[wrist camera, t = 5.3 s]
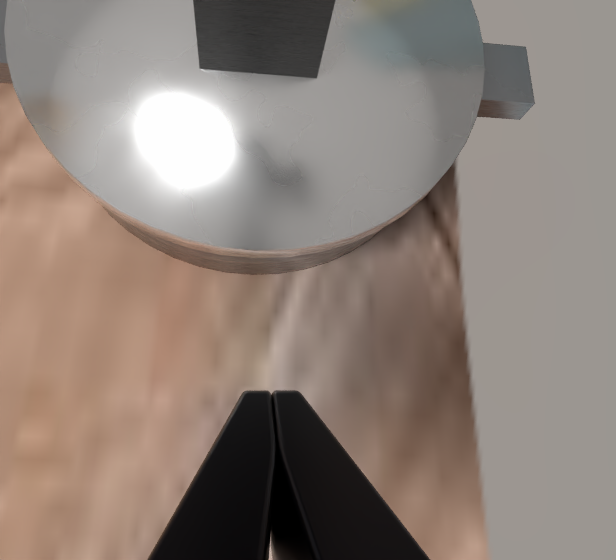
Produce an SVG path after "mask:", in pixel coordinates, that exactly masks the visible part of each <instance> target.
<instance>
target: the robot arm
mask: <svg viewBox="0 0 616 560" xmlns="http://www.w3.org/2000/svg"><path fill="white" fill-rule="evenodd" d="M270 536H271V549H272V558H273V560H430V559H429V558H428V556H427V555H426V554H425V552H424V551H423V550H422V549H421V547H420V546H419V545H418V543H417V542H416V541H415V540H414V538H413V537H412V536H411V534H410V533H409V532H408V531H407V529H406V528H405V527H404V525H403V524H402V523H401V522H400V520H399V519H398V518H397V516H396V515H395V514H394V512H393V511H392V510H391V509H390V507H389V506H388V505H387V503H386V502H385V501H384V500H383V498H382V497H381V496H380V494H379V493H378V492H377V491H376V489H375V488H374V487H373V485H372V484H371V483H370V482H369V480H368V479H367V478H366V476H365V475H364V474H363V473H362V471H361V470H360V469H359V467H358V466H357V465H356V464H355V462H354V461H353V460H352V458H351V457H350V456H349V455H348V453H347V452H346V451H345V449H344V448H343V447H342V446H341V444H340V443H339V442H338V440H337V439H336V438H335V437H334V435H333V434H332V433H331V431H330V430H329V429H328V428H327V426H326V425H325V424H324V422H323V421H322V420H321V419H320V417H319V416H318V415H317V413H316V412H315V411H314V410H313V408H312V407H311V406H310V404H309V403H308V402H307V401H306V399H305V398H304V397H303V395H302V394H301V393H300V392H298V391H274V392H273V393H272V395H271V393H270V392H269V391H245V392H243V393H242V395H241V396H240V398H239V400H238V402H237V403H236V405H235V407H234V409H233V410H232V412H231V414H230V416H229V417H228V419H227V421H226V423H225V424H224V426H223V428H222V430H221V431H220V433H219V435H218V437H217V438H216V440H215V442H214V444H213V445H212V447H211V449H210V451H209V452H208V454H207V456H206V458H205V459H204V461H203V463H202V465H201V467H200V468H199V470H198V472H197V474H196V475H195V477H194V479H193V481H192V482H191V484H190V486H189V488H188V489H187V491H186V493H185V495H184V496H183V498H182V500H181V502H180V503H179V505H178V507H177V509H176V510H175V512H174V514H173V516H172V517H171V519H170V521H169V523H168V524H167V526H166V528H165V530H164V531H163V533H162V535H161V537H160V538H159V540H158V542H157V544H156V545H155V547H154V549H153V551H152V552H151V554H150V556H149V558H148V560H268V559H269V547H270Z"/></svg>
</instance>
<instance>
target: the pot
mask: <svg viewBox="0 0 616 560" xmlns="http://www.w3.org/2000/svg"><path fill="white" fill-rule="evenodd" d="M6 7H7V0H0V83H13V82H12V78H11V74H10V70H9V66H8V62H7V57H6V44H5V31H4V29H5V18H6ZM483 51H484V69H485V71H484V82H483V92H482V98H481V102H480V106H479V110H478V113H477V117H491V118H506V119H521V118H522V117H523V116H524V114H525V113H526V112H527V111H528V110H529V109H530V108H531V106H533V105H534V103H535V102H534V96H533V89H532V83H531V77H530V70H529V64H528V57H527V51H526V47H522V46H511V45H500V44H489V43H483ZM103 208H104V209H105V210H106V211H107V212H108V213H109V215H111V216H112V217H113V218H114V219H115V220H116V221H117V222H118V223H120V224H121V225H122V226H123V227H124V228H125V229H126V230H127V231H129V232H130V233H132V234H133V235H135V236H136V237H138V238H139V239H141V240H142V241H144V242H145V243H147V244H148V245H150V246H151V247H153V248H155V249H157V250H159V251H161V252H163V253H165V254H167V255H169V256H171V257H173V258H176V259H179V260H182V261H185V262H187V263H190V264H193V265H196V266H199V267H203V268H208V269H213V270H217V271H222V272H228V273H239V274H251V275H255V274H279V273H285V272H291V271H297V270H303V269H307V268H310V267H313V266H317V265H320V264H323V263H327V262H329V261H331V260H333V259H336V258H338V257H340V256H342V255H345V254H347V253H349V252H351V251H352V250H354V249H355V248H357V247H359V246H360V245H362V244H363V243H365V242H367V241H368V240H370V239H371V238H372V237H373V236H374V235H376V234H377V233H378V232H379V231H380V230H379V231H377V232H375V233H373V234H370V235H368V236H366V237H364V238H361V239H359V240H357V241H355V242H353V243H350V244H347V245H343V246H340V247H336V248H333V249H330V250H326V251H323V252H318V253H312V254H306V255H300V256H293V257H280V258H247V257H236V256H225V255H219V254H214V253H209V252H205V251H200V250H196V249H191V248H187V247H184V246H181V245H179V244H176V243H173V242H170V241H167V240H164V239H161V238H159V237H156V236H154V235H152V234H150V233H148V232H146V231H144V230H142V229H140V228H138V227H136V226H134V225H132V224H130V223H128V222H126V221H124V220H123V219H121V218H120V217H118V216H117V215H115V214H114V213H112V212H111V211H109V210H108V209H106V208H105V207H103ZM382 229H383V228H382Z"/></svg>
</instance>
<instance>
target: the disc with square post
mask: <svg viewBox="0 0 616 560" xmlns="http://www.w3.org/2000/svg"><path fill="white" fill-rule="evenodd" d="M4 31H5V44H6V57H7V62H8V66H9V70H10V74H11V78H12V82H13V86H14V89H15V91H16V93H17V96H18V98H19V100H20V103H21V105H22V107H23V110H24V112H25V114H26V116H27V118H28V119H29V121H30V123H31V124H32V126H33V127H34V129H35V131H36V132H37V134H38V135H39V137H40V139H41V140H42V142H43V143H44V145H45V146H46V148H47V149H48V151H49V152H50V154H51V155H52V157H53V158H54V159H55V160H56V162H57V163H58V164H59V165H60V166H61V167H62V169H63V170H64V171H65V172H66V173H67V174H68V176H69V177H70V178H71V179H72V180H73V181H74V182H75V183H76V184H77V185H78V186H79V187H80V188H82V189H83V190H84V191H85V192H86V193H87V194H88V195H89V196H91V197H92V198H93V199H94V200H95V201H96V202H97V203H99V204H100V205H102V206H103V207H105V208H106V209H108V210H109V211H111V212H112V213H114V214H115V215H117V216H118V217H120V218H121V219H123V220H124V221H126V222H128V223H130V224H132V225H134V226H136V227H138V228H140V229H142V230H144V231H146V232H148V233H150V234H152V235H154V236H156V237H159V238H161V239H164V240H167V241H170V242H173V243H176V244H179V245H181V246H184V247H187V248H191V249H196V250H200V251H205V252H209V253H214V254H219V255H225V256H236V257H247V258H280V257H293V256H300V255H306V254H312V253H318V252H323V251H326V250H330V249H333V248H336V247H340V246H343V245H347V244H350V243H353V242H355V241H357V240H359V239H361V238H364V237H366V236H368V235H370V234H373V233H375V232H377V231H379V230H381V229H382V228H384V227H385V226H387V225H389V224H390V223H392V222H393V221H395V220H397V219H398V218H400V217H401V216H403V215H404V214H405V213H407V212H408V211H409V210H410V209H411V208H412V207H414V206H415V205H416V204H417V203H418V202H419V201H421V200H422V199H423V198H424V197H425V196H426V195H427V194H428V193H429V191H430V190H431V189H432V188H433V187H434V186H435V184H436V183H437V182H438V181H439V180H440V179H441V178H442V176H443V175H444V174H445V173H446V172H447V170H448V169H449V168H450V167H451V166H452V164H453V162H454V161H455V159H456V158H457V156H458V155H459V153H460V151H461V150H462V148H463V147H464V145H465V143H466V141H467V139H468V137H469V134H470V132H471V129H472V127H473V125H474V123H475V120H476V117H477V113H478V110H479V106H480V102H481V98H482V92H483V82H484V71H485V69H484V51H483V42H482V37H481V32H480V27H479V22H478V19H477V16H476V14H475V10H474V8H473V5H472V2H471V0H7V7H6V18H5V29H4Z"/></svg>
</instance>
